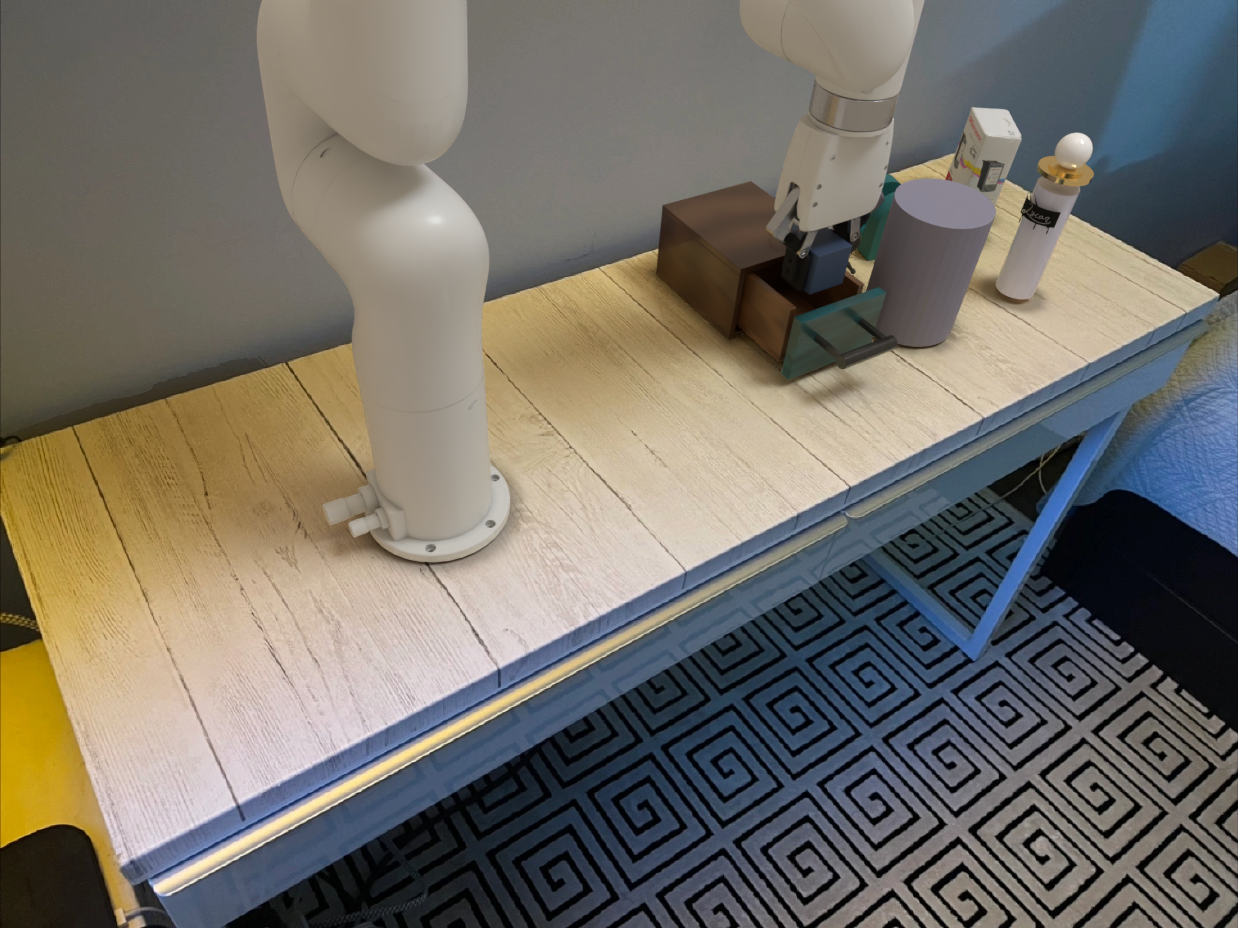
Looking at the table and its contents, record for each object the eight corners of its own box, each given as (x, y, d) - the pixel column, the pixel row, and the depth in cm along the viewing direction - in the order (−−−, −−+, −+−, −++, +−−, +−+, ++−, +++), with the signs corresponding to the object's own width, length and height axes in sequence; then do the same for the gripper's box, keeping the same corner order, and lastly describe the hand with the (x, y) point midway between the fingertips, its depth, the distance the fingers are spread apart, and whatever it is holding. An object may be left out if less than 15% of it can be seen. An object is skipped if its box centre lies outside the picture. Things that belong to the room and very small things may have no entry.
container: (841, 315, 105) (874, 196, 95) (896, 285, 110) (933, 169, 100) (914, 360, 100) (957, 239, 89) (968, 327, 105) (1015, 209, 94)
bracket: (867, 260, 114) (883, 203, 108) (842, 232, 118) (856, 175, 113) (990, 243, 118) (1011, 187, 113) (961, 216, 123) (980, 161, 117)
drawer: (901, 374, 97) (921, 317, 91) (819, 408, 92) (835, 350, 87) (790, 285, 107) (802, 230, 102) (711, 312, 103) (720, 255, 98)
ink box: (941, 187, 128) (968, 104, 120) (977, 190, 128) (1006, 107, 120) (954, 219, 122) (983, 134, 114) (992, 222, 122) (1024, 137, 114)
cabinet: (815, 309, 106) (832, 239, 99) (728, 340, 101) (740, 269, 94) (739, 248, 114) (750, 180, 108) (655, 273, 109) (662, 204, 103)
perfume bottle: (1004, 274, 113) (1069, 117, 99) (1046, 296, 110) (1119, 137, 96) (978, 290, 110) (1041, 130, 96) (1020, 313, 107) (1092, 152, 93)
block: (809, 295, 93) (818, 256, 89) (781, 272, 95) (789, 234, 92) (842, 283, 94) (852, 245, 91) (814, 262, 97) (823, 224, 94)
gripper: (892, 72, 88) (848, 239, 100) (752, 104, 81) (724, 280, 94) (949, 102, 83) (896, 274, 96) (807, 139, 76) (770, 318, 89)
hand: (812, 275), depth 95 cm, fingers closed on block, 4 cm apart
